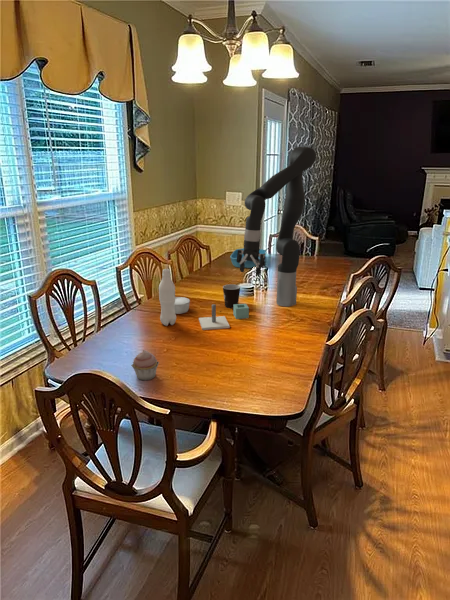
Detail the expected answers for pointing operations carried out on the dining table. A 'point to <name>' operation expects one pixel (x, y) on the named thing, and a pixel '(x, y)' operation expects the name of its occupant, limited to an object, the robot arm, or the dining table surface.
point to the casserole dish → (234, 257)
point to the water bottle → (167, 299)
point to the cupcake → (145, 365)
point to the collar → (240, 311)
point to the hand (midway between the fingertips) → (249, 273)
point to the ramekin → (181, 305)
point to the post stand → (213, 321)
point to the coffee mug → (231, 294)
